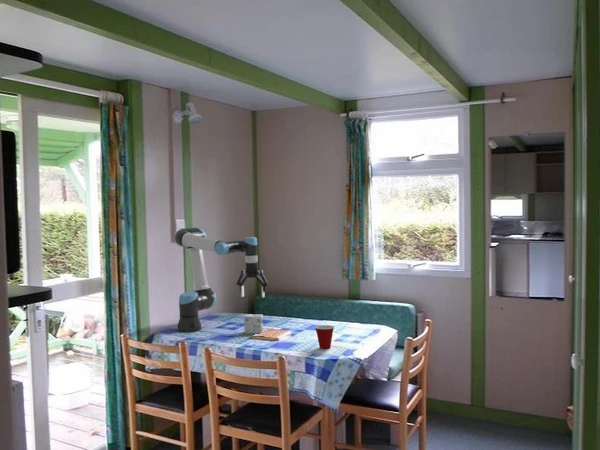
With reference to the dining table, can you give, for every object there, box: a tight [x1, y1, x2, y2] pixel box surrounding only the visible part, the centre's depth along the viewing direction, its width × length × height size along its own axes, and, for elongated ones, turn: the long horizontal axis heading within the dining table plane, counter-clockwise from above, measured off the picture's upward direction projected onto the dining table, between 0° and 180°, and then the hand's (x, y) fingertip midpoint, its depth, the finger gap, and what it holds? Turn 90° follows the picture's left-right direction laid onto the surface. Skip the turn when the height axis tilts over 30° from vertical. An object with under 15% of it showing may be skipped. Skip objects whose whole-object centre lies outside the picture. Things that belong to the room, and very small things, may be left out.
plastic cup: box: [314, 324, 335, 350], centre depth 283 cm, size 11×11×12 cm
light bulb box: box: [243, 313, 264, 334], centre depth 319 cm, size 11×7×11 cm, turn 84°
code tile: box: [239, 331, 255, 337], centre depth 317 cm, size 20×14×1 cm
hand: (253, 296), depth 319 cm, fingers open, 13 cm apart
